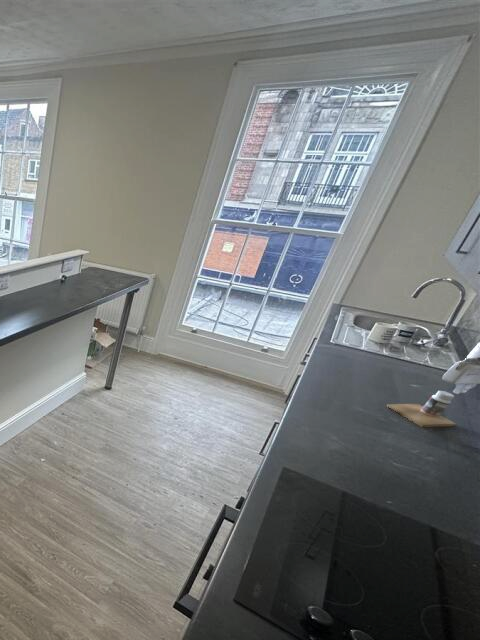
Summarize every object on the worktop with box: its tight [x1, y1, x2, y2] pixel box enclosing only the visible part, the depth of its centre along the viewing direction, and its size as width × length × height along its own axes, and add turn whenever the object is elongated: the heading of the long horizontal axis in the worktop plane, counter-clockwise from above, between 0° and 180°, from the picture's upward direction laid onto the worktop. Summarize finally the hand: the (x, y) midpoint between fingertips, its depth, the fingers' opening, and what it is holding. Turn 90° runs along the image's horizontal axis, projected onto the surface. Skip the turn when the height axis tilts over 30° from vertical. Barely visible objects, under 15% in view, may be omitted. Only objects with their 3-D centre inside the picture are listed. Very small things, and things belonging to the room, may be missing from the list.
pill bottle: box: [421, 390, 455, 417], centre depth 139 cm, size 5×5×8 cm
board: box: [386, 403, 457, 428], centre depth 141 cm, size 12×14×1 cm
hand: (458, 393), depth 138 cm, fingers closed
